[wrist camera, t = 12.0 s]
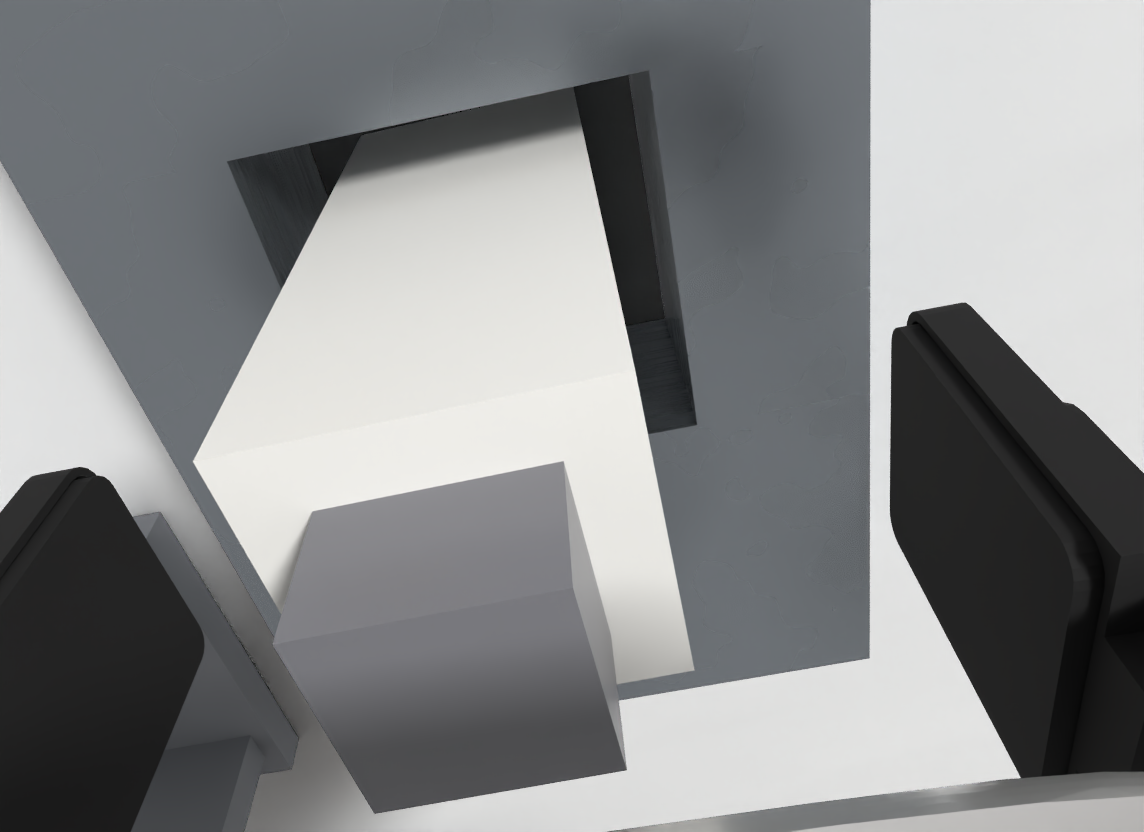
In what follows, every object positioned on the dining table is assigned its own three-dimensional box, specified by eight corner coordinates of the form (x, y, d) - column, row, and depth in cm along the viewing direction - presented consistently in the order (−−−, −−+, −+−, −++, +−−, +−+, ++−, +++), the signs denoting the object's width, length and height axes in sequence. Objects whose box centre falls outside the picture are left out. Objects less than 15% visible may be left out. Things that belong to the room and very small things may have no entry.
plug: (612, 283, 18) (723, 805, 8) (426, 322, 18) (324, 871, 9) (572, 86, 16) (660, 487, 6) (361, 135, 16) (123, 593, 6)
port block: (816, 534, 22) (875, 672, 18) (363, 615, 23) (334, 763, 19) (764, -622, 11) (887, -847, 7) (-116, -388, 12) (-401, -489, 8)
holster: (298, 738, 26) (266, 873, 22) (75, 776, 26) (11, 914, 23) (160, 511, 21) (92, 642, 17) (-113, 563, 21) (-231, 700, 18)
